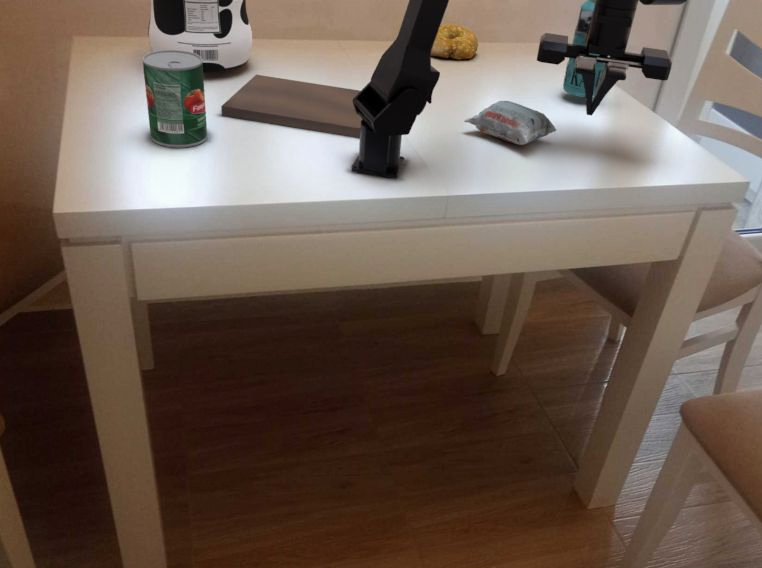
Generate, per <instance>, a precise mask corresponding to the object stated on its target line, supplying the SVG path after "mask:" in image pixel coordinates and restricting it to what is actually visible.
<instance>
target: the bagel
mask: <svg viewBox="0 0 762 568" xmlns="http://www.w3.org/2000/svg"><path fill="white" fill-rule="evenodd" d="M478 48H479V42H478V38H477V35H476V34H475V33H474V32H473V31H472V30H470V29H468V28H467V27H465V26H462V25H460V24H457V23H448V24H447V23H446V24H441V25H440V28H439V30H438V33H437V36H436V39H435V42H434V45H433V48H432V51H431V57H437V58H438V57H439V58H441V59H442V58H443V59H448V58H451V59H456V60H467V59H471V58H473V57H474V56H475V54H476V53H477V51H478Z"/></svg>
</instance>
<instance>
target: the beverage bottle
mask: <svg viewBox="0 0 762 568" xmlns="http://www.w3.org/2000/svg"><path fill="white" fill-rule="evenodd" d="M595 1H596V0H586V1H585V2H583V3H582V4H580V10H581V9H582V10H589V11H593V10H594V6H595ZM579 15H580V13H579ZM579 15H578V16H579ZM576 24H578V22H577V23H576ZM576 29H577V26H575V28H574V32H573V38H572V44H575V45H582V46H585V45H586V43H585V37H586V34H579V33H576ZM589 54H590V55H597V56H599V55H598V54H593V53H592V54H591V53H589ZM575 60H576V59H574V58H568V61H567V63H566V68H565V73H564V76H563V81H562V82H563V83H562V86H563V87H562V88H563V91H564V92H566V93H567V94H570V95H573V96H577V97H582V98H583V97H585V88H584V84H583V79H582V75H581V74H577V73H575ZM604 65H605V63H601V62H596V65H595V69H596V75H595V83H594V91H593V97H594V95H595V92H596V89H597V87H598V84H599V81H600V79H601V75H602V72H603V68H604ZM585 98H586V97H585Z"/></svg>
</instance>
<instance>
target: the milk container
mask: <svg viewBox="0 0 762 568" xmlns="http://www.w3.org/2000/svg"><path fill="white" fill-rule="evenodd" d="M147 30H148V31H147V34H148V41H149V45H150V49H151V52H154V51H161V50H180V51H187V52H192V53H195V54H197V55H199V56H200V57H202V59H203V74H218V73H225V72H230V71H234V70H236V69H239V68H241V67H243V66H244V65H246V63H248V62H249V59H250V57H251V54H252V49H253V32H252V28H251V24H250V20H249V17H248V12H247V3H246V0H150V14H149V20H148V28H147Z"/></svg>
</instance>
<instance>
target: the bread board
mask: <svg viewBox="0 0 762 568" xmlns="http://www.w3.org/2000/svg"><path fill="white" fill-rule="evenodd" d="M360 91H361V90H359V89H352V88H345V87H339V86H333V85H326V84H321V83H314V82H307V81H301V80H294V79H293V80H292V79H287V78H281V77H274V76H267V75H260V74H255V75H254V76H253V77H252V78H251V79H249V80H248V82H246V83H245V84H244V85H243V86H242V87H241V88H239V89H238V90H237V91H236V92H235V93H234V94H233V95H232V96H231V97H230V98H229V99H227V100H226V101H225V102H224V103H222V105H221V106H220V107H221V116H223V117H229V118H235V119H241V120H247V121H252V122H260V123H265V124H266V123H267V124H273V125H279V126H286V127H290V128H297V129H303V130H310V131H315V132H322V133H329V134H333V135H334V134H335V135H340V136H345V137H346V136H347V137H353V138H359V139H360V128H361V120H362V118H361V117H360V116H359V115H358V114H357V113H356V111H355V108H354V105H353V101H352V100H353V98H354V97H355V96H356V95H357V94H358V93H359V92H360Z"/></svg>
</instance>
